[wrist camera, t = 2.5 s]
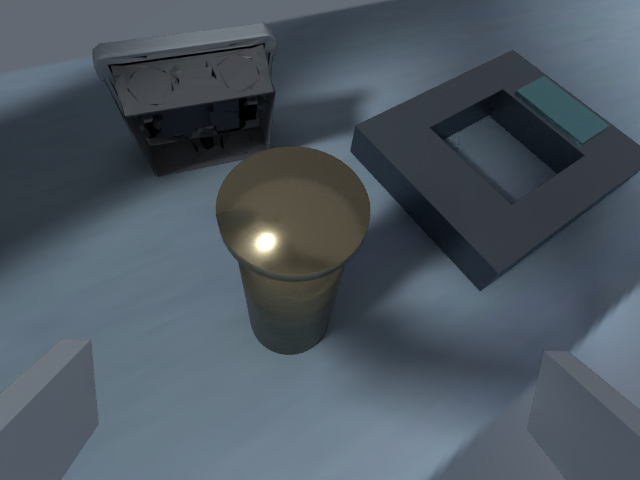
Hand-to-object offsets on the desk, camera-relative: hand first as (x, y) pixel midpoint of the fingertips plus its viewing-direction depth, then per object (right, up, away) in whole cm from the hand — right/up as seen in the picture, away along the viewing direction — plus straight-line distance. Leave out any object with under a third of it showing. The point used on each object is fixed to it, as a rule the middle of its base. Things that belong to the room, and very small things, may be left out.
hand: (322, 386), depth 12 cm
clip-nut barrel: (-2, 0, +11) cm, 12 cm away
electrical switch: (-7, +10, +17) cm, 21 cm away
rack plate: (+12, +10, +18) cm, 24 cm away
